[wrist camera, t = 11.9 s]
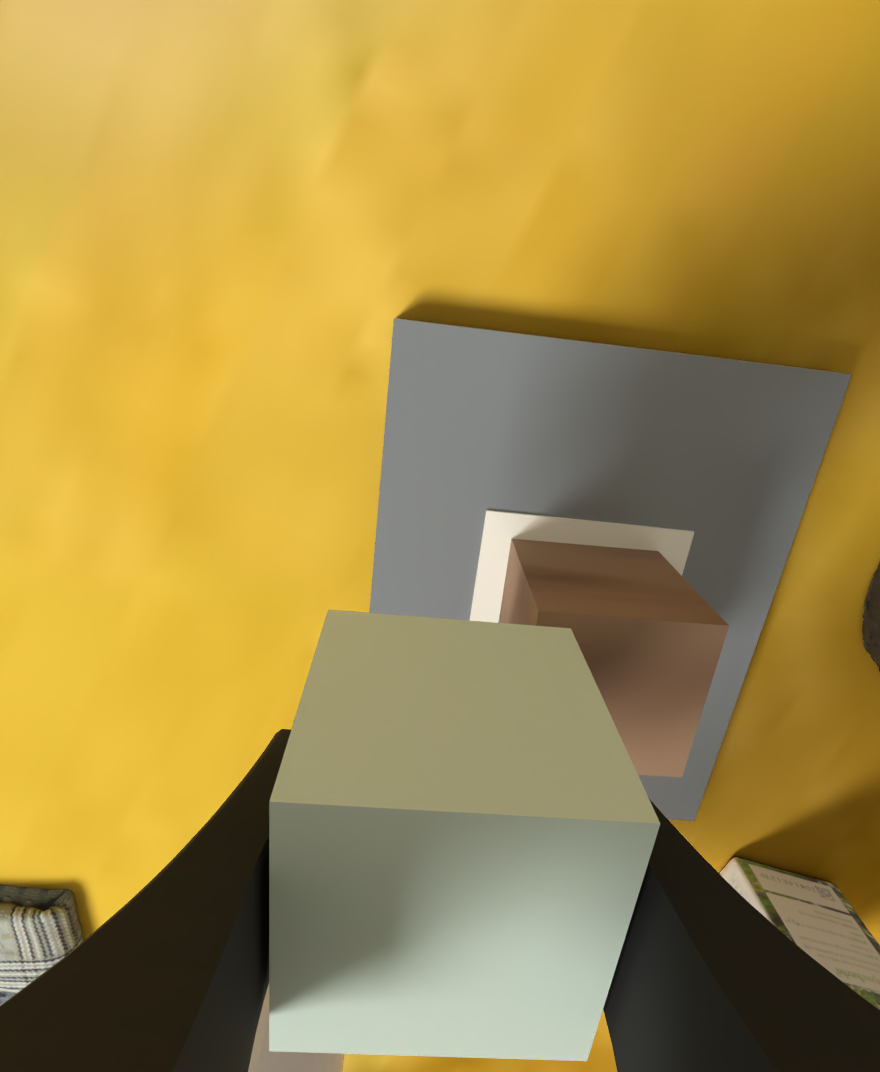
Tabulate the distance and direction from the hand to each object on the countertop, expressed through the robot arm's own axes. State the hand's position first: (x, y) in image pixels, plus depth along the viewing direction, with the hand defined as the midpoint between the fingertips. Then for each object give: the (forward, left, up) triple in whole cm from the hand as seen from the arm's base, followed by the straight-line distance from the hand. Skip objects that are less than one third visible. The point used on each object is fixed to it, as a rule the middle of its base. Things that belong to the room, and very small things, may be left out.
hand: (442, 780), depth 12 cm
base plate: (-1, -5, -10) cm, 12 cm away
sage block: (0, 0, -2) cm, 2 cm away
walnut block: (-1, -5, -9) cm, 11 cm away
